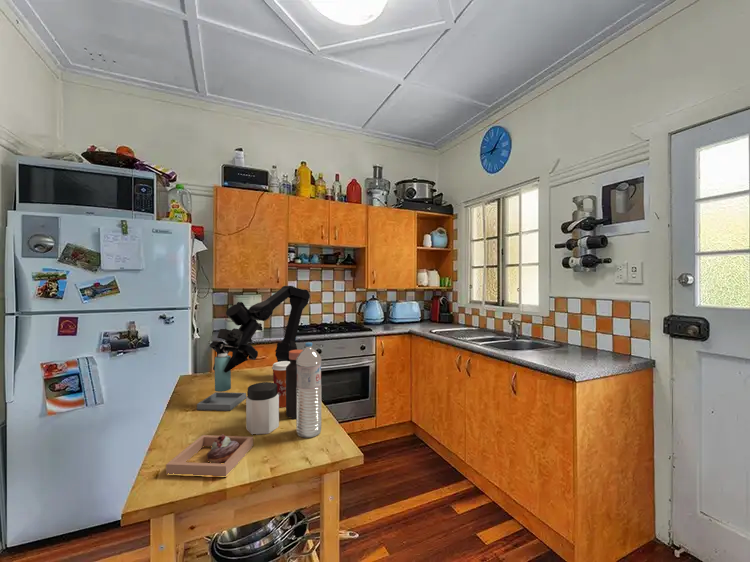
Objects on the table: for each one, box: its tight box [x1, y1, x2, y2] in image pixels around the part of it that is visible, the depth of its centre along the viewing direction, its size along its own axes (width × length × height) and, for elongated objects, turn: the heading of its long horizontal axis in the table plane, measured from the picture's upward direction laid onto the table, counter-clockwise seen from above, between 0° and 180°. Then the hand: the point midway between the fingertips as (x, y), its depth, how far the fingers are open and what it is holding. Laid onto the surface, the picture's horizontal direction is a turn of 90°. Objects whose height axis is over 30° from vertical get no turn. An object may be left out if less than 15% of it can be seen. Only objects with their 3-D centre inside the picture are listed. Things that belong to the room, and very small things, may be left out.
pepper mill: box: [214, 353, 232, 392], centre depth 113 cm, size 5×5×12 cm
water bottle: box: [295, 341, 322, 439], centre depth 92 cm, size 7×7×25 cm
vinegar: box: [285, 349, 304, 420], centre depth 104 cm, size 7×7×20 cm
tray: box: [196, 391, 247, 412], centre depth 113 cm, size 11×11×2 cm
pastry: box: [206, 433, 241, 464], centre depth 80 cm, size 8×8×5 cm
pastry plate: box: [165, 434, 254, 476], centre depth 78 cm, size 13×13×2 cm
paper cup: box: [271, 361, 290, 409], centre depth 113 cm, size 8×8×14 cm
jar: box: [245, 381, 280, 436], centre depth 95 cm, size 9×8×12 cm
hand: (219, 370), depth 112 cm, fingers closed on pepper mill, 5 cm apart
